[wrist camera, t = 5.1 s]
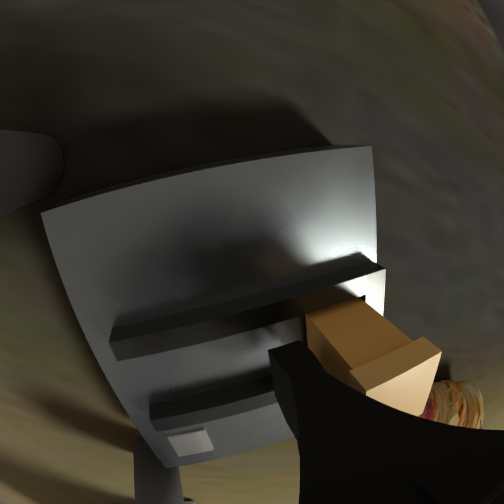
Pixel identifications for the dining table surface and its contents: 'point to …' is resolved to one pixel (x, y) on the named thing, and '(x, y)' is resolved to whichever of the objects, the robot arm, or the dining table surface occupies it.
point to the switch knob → (373, 355)
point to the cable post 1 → (27, 168)
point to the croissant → (455, 404)
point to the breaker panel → (215, 285)
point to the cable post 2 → (154, 478)
